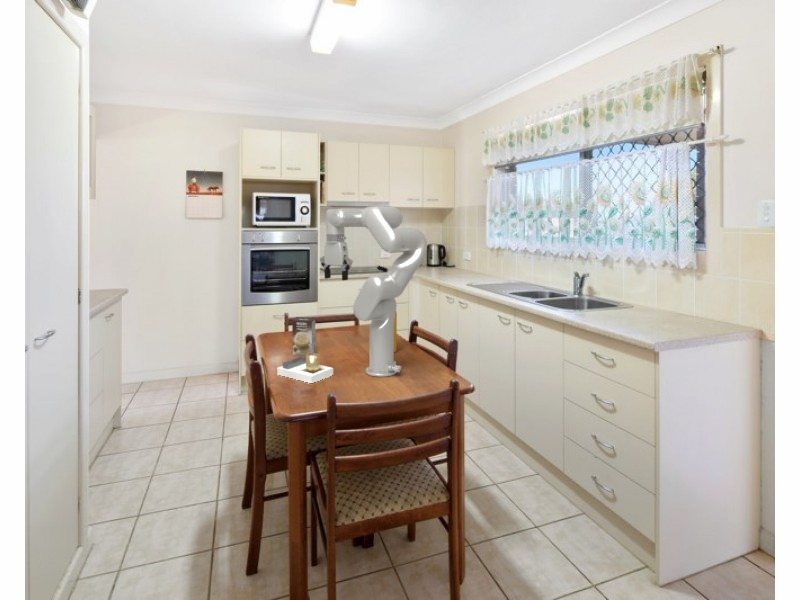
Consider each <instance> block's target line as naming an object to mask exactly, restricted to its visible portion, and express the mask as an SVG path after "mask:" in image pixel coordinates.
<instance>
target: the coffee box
mask: <svg viewBox="0 0 800 600" xmlns="http://www.w3.org/2000/svg"><path fill="white" fill-rule="evenodd" d="M291 321H292V322H291V325H292V326H291V328H292V355H293V356H300V355H306V354H308V353H317V352H316V346H317V344H316V343H317V342H316V340H317V339H316V317H299V316H297V317H295V318H293V319H292V320H291Z"/></svg>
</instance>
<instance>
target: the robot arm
mask: <svg viewBox="0 0 800 600" xmlns="http://www.w3.org/2000/svg"><path fill="white" fill-rule="evenodd" d="M325 222H326V223H325V226H326V228H325V229H326V235H325V236H326V242H325V245H324V255H323V256H321V257H320V258H319V261H320V264H321V267H322V269H323V270H324V272H323V273H324V279H326V280H327V279H330V278H331V277H332V276H331V272H332V271H331V266H334V267H341V269H342V271H341V281H348V279H349V271H350V269H351V268H352V265H353V262H354V261H353V260H352V259H351V258H350V257H349V250H348V245H347V241H346V239H347V236H345V228H366V229H368V231H369V233H371V236H372V237H373V238H374V240H375V241H376V243H377V244H378V246H379V247H380V248H381V249H382V250H383V251H384V252H386V253H390V254H396V253H402V254H400V256H398V257H397V258H396V259H395V260H394V261H393V263H392V264H391V266H390V268H389V269H388V271H386V272H384V273H378V274H377V273H376V274H373V275H371V276H369V277H368V278H367V279H366V280H365V282H364V283H363V285H362V286H361V288H360V289H359V290H360V291H359V293H358V294H357V296H356V298H355V300H354V303H353V307H352V308H353V309H352V310H353V314H354V316H355V318H356V319H357V320H359V321H362V322H367V321H368V322H369V321H371V322H370V325H369V336H368V337H369V343H368V344H369V345H368V346H369V366H367V367H366V368H365V373H366V374H367V375H369V376H372V377H379V378H380V377H382V378H383V377H390V376H395V375H396V374H397V373H400V372H401V370H402V366H401V365H397V362H396V360H394V354H395V353H394V318H395V313H396V312H397V307H398V305H397V300H396V298H398V297H400V296H401V295H402V294H403V293H404V291H405V290H406V288H407V286H408V284H409V282H410V281H411V279H412V278H413V276H414V274H415V272H417V270H418V268H419V267H420V265H422V263H423V261H424V260H425V257H426V255H427V249H428V248H427V247H428V245H427V239H426V235H425V234H424V233H423V232H422V231H421V230H419V229H417V228H411V227H404V228H403V227H401V228H399V227H400V226H401V225H402V223H403V213H402V212H401V210H400V209H399V208H397V207H394V206H391V205H390V206H385V205H375V206H366V207H365V208H357V207H355V208H354V207H353V208H352V207H351V208H348V207H347V208H346V207H344V208H343V207H342V208H341V207H340V208H328V209H327V210H326V212H325Z"/></svg>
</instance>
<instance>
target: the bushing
mask: <svg viewBox="0 0 800 600" xmlns="http://www.w3.org/2000/svg"><path fill="white" fill-rule="evenodd" d="M305 358H306V372H308V373H312V374H314V373H316V372H319V371H320V367H319V365H320V353H319V352H315V353H308V354H306V356H305Z"/></svg>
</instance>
